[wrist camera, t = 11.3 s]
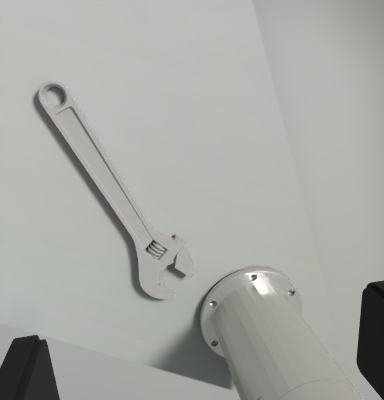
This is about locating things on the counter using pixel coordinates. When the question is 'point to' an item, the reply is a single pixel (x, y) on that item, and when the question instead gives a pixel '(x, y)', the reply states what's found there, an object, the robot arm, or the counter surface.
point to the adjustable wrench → (119, 196)
